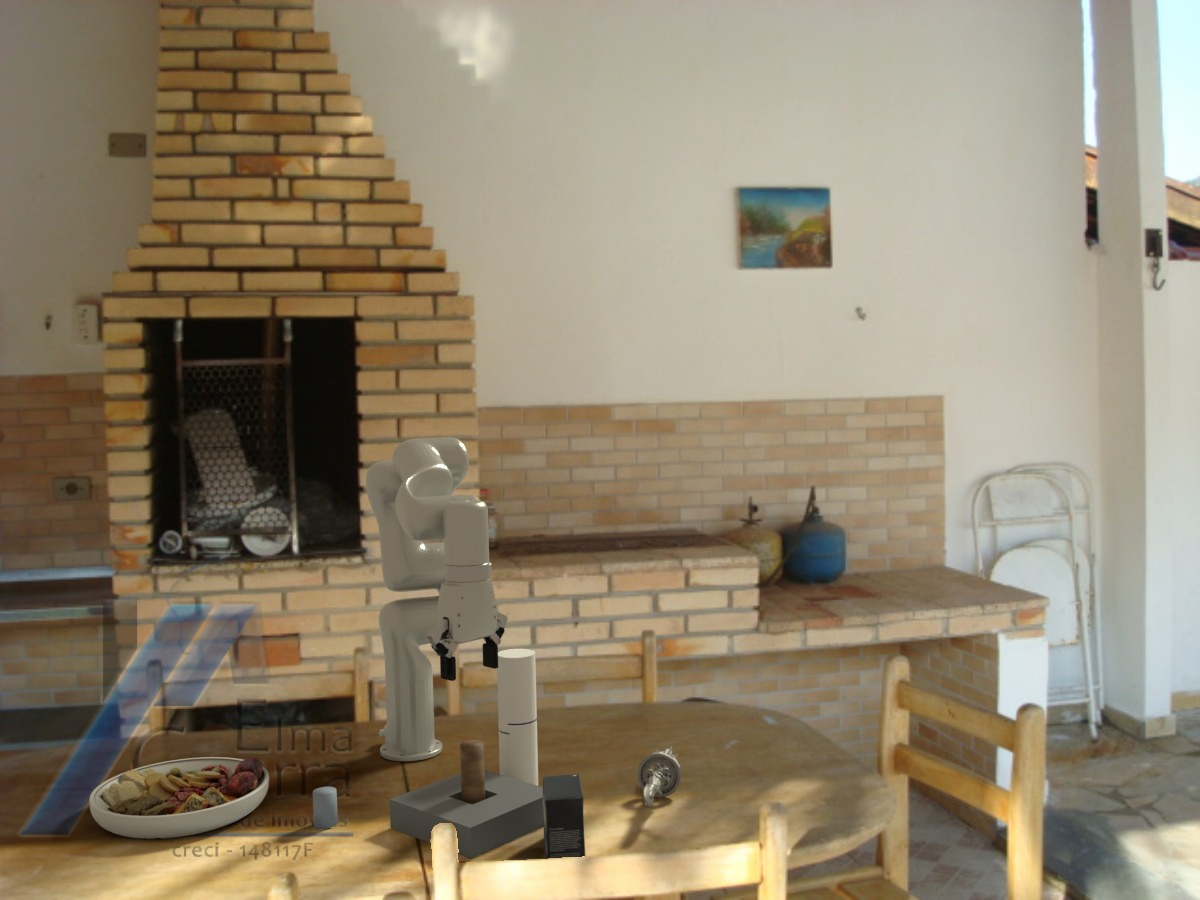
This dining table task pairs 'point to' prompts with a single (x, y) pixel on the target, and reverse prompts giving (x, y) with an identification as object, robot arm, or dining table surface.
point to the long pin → (472, 771)
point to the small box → (563, 816)
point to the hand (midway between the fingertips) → (469, 673)
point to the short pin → (325, 807)
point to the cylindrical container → (517, 715)
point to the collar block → (471, 812)
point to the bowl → (179, 797)
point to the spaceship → (659, 775)
